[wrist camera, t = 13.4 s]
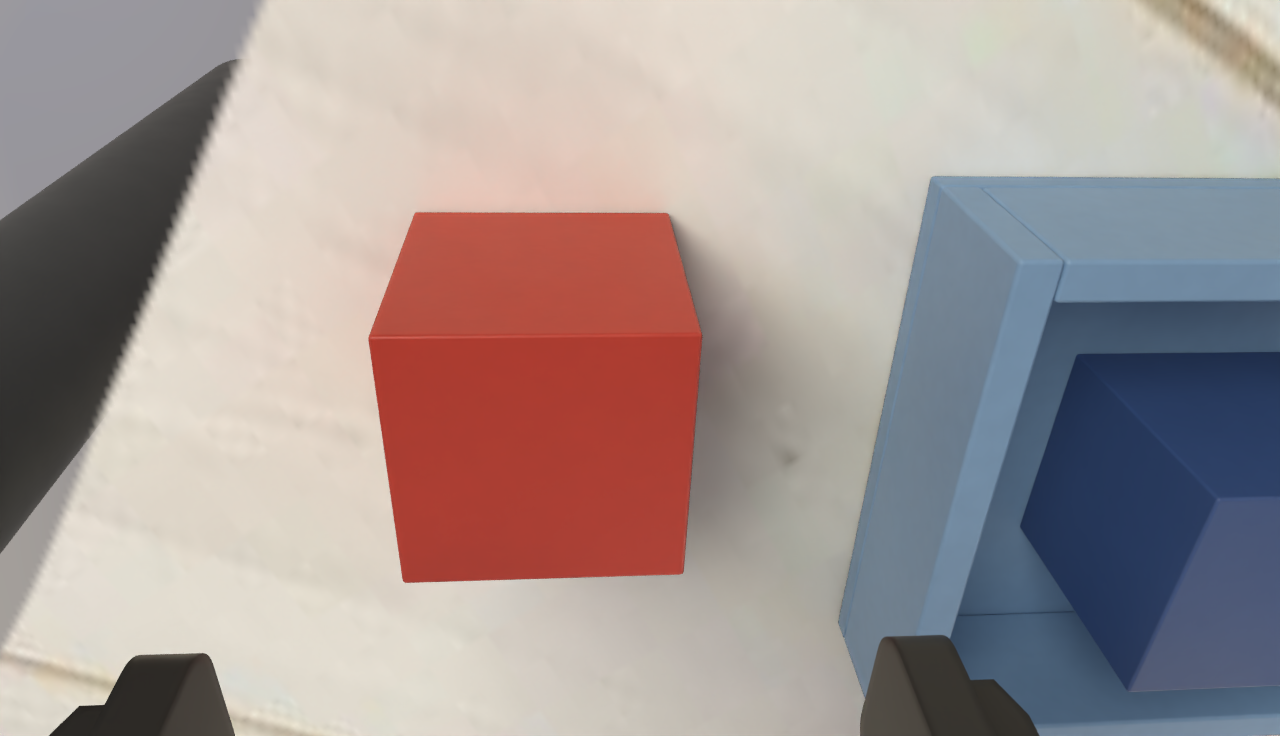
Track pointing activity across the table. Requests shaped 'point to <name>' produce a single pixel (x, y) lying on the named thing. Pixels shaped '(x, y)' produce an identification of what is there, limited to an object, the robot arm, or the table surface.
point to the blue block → (1168, 515)
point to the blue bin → (1043, 420)
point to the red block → (538, 396)
